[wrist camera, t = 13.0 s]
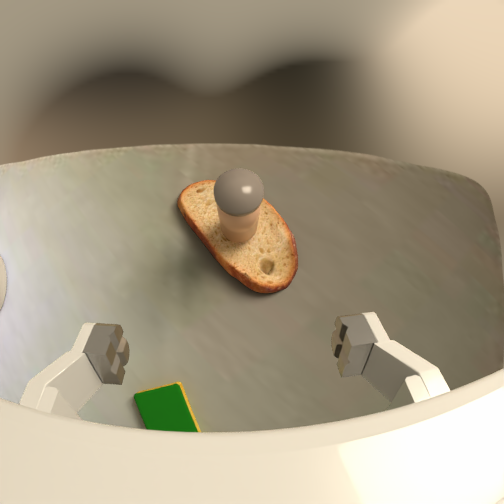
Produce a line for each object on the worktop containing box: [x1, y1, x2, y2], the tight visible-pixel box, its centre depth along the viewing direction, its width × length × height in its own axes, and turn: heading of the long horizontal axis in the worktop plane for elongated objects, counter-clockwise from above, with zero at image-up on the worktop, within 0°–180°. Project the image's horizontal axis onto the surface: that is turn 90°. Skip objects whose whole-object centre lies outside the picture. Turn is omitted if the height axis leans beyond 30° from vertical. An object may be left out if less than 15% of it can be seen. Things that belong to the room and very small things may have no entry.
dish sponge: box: [134, 382, 201, 432], centre depth 36 cm, size 7×14×2 cm, turn 19°
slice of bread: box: [177, 180, 298, 293], centre depth 43 cm, size 18×18×4 cm
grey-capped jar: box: [213, 168, 264, 243], centre depth 37 cm, size 5×5×11 cm
